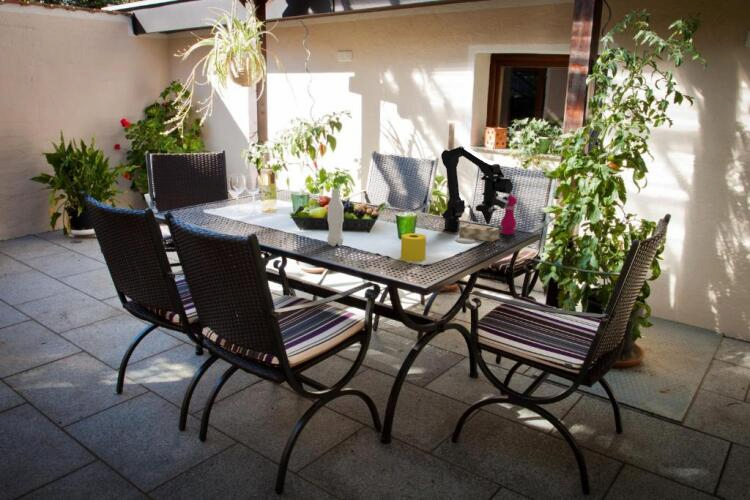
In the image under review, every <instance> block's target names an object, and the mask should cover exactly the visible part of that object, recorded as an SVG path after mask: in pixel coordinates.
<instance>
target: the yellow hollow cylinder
mask: <svg viewBox="0 0 750 500" xmlns="http://www.w3.org/2000/svg"><path fill="white" fill-rule="evenodd" d="M400 240H401V242H400V245H401V246H400V248H401V249H400V259H401V260H402V261H404V262H409V261H411V263H417V261H419V262H423V261H425V260H426V246H427V245H426V244H427V243H426V242H427V236H426V235H424V234H422V233H416V232H415V233H413V232H412V233H411V232H410V233H404V234H402V235H401V238H400Z"/></svg>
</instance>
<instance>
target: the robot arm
mask: <svg viewBox="0 0 750 500" xmlns="http://www.w3.org/2000/svg"><path fill="white" fill-rule="evenodd" d="M440 157H441V161H442V165H443V166H444V167H445V170H446V177H447V187H448V188H447V190H448V201H447V203H446V210H445V211H444V212H443V213H442V219H444V228H443V229H442V230H443V231H446V232H451V233H452V232H453V233H456V232H458V231H460V226H461V221H460V218H462V217H463V214H464V213H465V211H466V210H465V209H466V205H465V204H466V203H465V199H463V200H462V199H461V196H460V189H459V187H460V186H459V177H458V170H457V169H458V166H459V165H458V164H459V161H460V158H462V157H464V158H465V159H466V160H468V161H469V162H471V163H472V164H474V165H475V166H477V167H478V169H479V170H480V172H481V173H482V174H483V176H482V177H481V178H480V180H481V181H484V186H483V192H482V195H481V196H483V198H482V199H483V200H482V201H481V203H479V204H477V205H476V206H475V212H480V213H481V214H482V215H483V218H484V220H485V221H484V222H485V223H486V224H487V225H489V224H490V222H491V219H492V217H493V214H494V212H495V211H497V210H498V208H500V209H503V210H504V209H505V208H506V206H507V204H508V203H509V201H508V197H506V196H507V195H509V193H513V192H512V191H513V189H514V185H513V182H512V179H511V178H509V177H508V178H507V177H505V176H504V173H503V172H502V170H501V169H502V168H501V165H500V164H499V162H495V161H493V160H488V159H486V158H485V157H483V156H482V155H480V154H479V153H477V152H476V151H474V150H472V149H471V148H469V146H467V145H462V146H459V147H456V148H452V149H444V150H443V151H442V152H441V155H440ZM499 193H502V194H507V195H505V196H499ZM495 206H497V207H498V208H496V207H495Z"/></svg>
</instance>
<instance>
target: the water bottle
mask: <svg viewBox="0 0 750 500" xmlns="http://www.w3.org/2000/svg"><path fill="white" fill-rule="evenodd" d="M331 191H332V192H331V199H330V200H329V203H328V204H327V219H326V220H327V223H328V235H327V239H326V240H327V244H328V245H329V246H331V247H336V245H337V247H341V246H342V245H343V243H344V240H345V239H344V238H345V237H344V235H343V223H344V221H345V220H344V210H345V207H344V204H343V202H342V200H341V197H340V189H339V188H332V190H331Z"/></svg>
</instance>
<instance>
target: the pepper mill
mask: <svg viewBox="0 0 750 500" xmlns="http://www.w3.org/2000/svg"><path fill="white" fill-rule="evenodd" d="M505 196H506V197H508V201H509V203H508V204H507V206H506V208H504V209H505V210H504V216H503V217H502V219H501V222H500V226H501V233H502V234H503V235H514V234H515V227H516V226H517V221H516V218H515V215H514V210H516V204H517V200H518V199H517V198H516V196H514V194H513V192H511V193H509V194H508V195H505Z"/></svg>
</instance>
